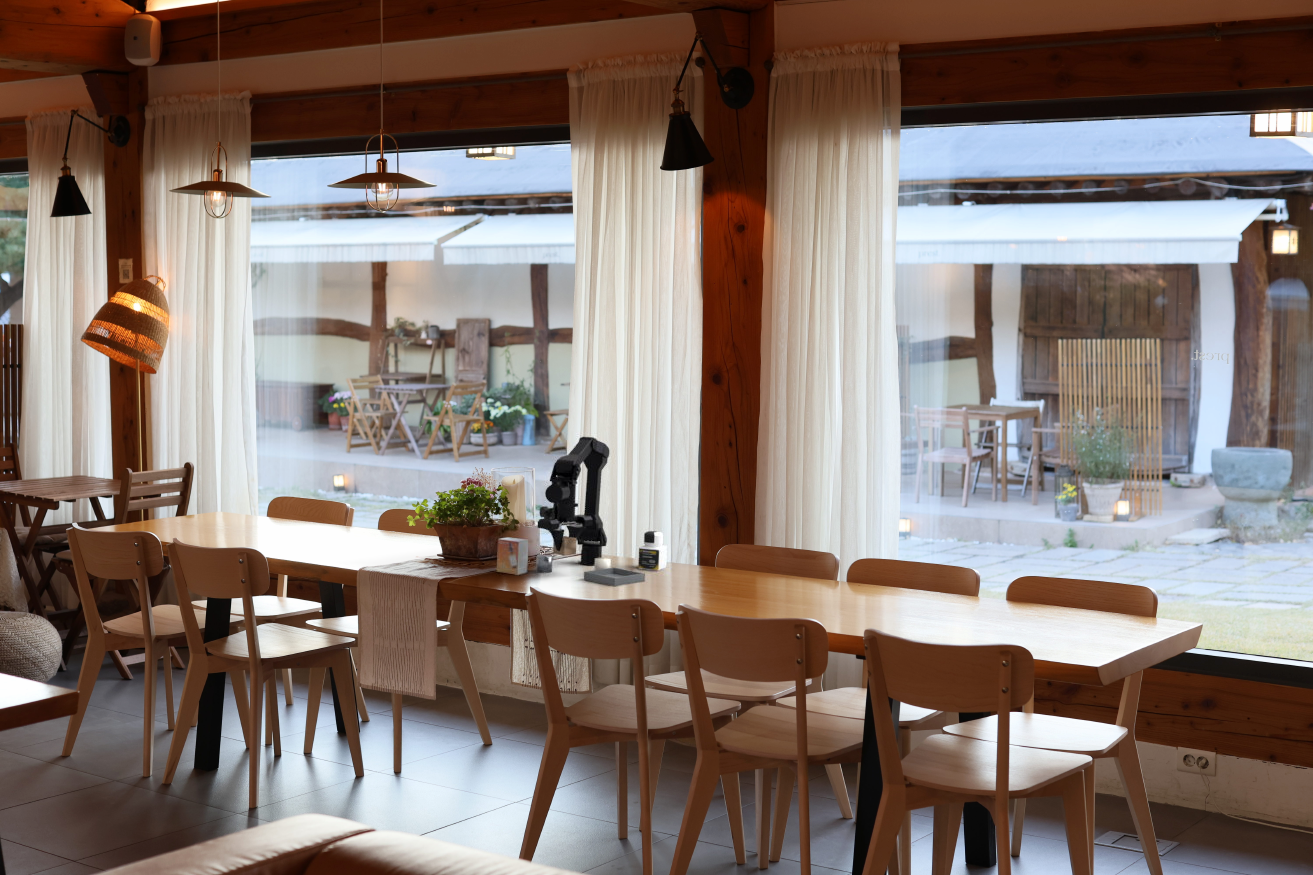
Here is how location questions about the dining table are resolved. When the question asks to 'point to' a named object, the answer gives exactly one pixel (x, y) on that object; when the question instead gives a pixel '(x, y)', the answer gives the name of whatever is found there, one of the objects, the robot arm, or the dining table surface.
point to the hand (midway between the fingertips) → (564, 549)
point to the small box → (512, 555)
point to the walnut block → (566, 546)
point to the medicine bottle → (653, 552)
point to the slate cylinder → (544, 563)
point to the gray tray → (614, 576)
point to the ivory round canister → (602, 563)
